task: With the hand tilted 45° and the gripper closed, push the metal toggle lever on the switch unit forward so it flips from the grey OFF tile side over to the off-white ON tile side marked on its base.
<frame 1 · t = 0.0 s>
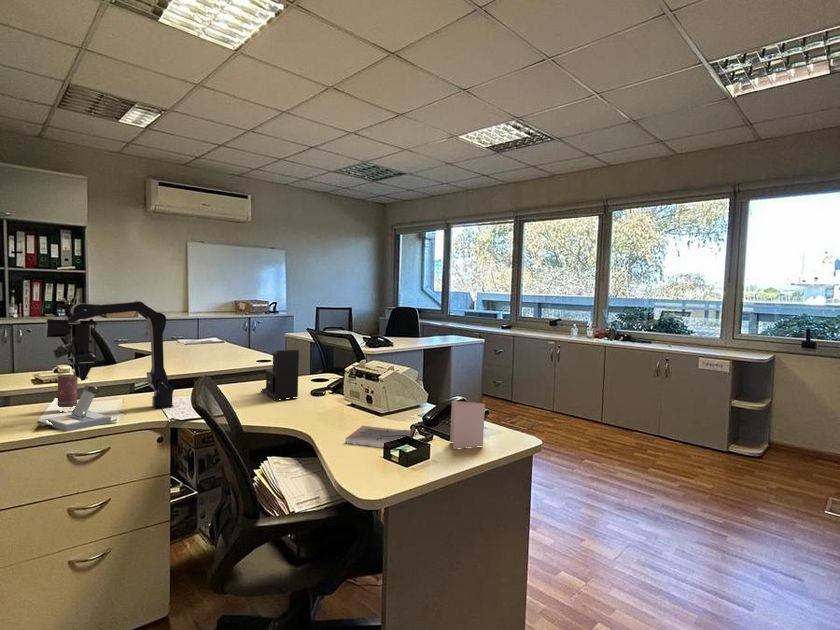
hand: (80, 378, 169), 15 cm above the table, tool pointing down, fingers open, 9 cm apart
pale purple book: (383, 441, 159), on the table
can: (67, 411, 179), on the table
bookend: (278, 395, 221), on the table
greeting card: (465, 448, 154), on the table
toggle lever: (85, 401, 164), point 8 cm above the table, hinge at -25.0°
switch base: (78, 423, 163), on the table
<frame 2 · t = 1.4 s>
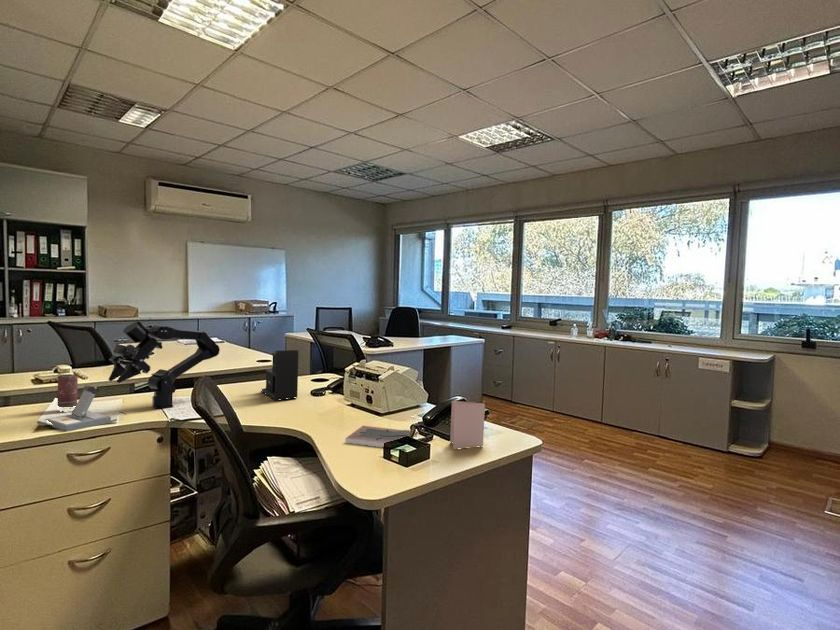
hand: (113, 381, 172), 14 cm above the table, tool tilted 45°, fingers open, 5 cm apart
nothing on the table moved.
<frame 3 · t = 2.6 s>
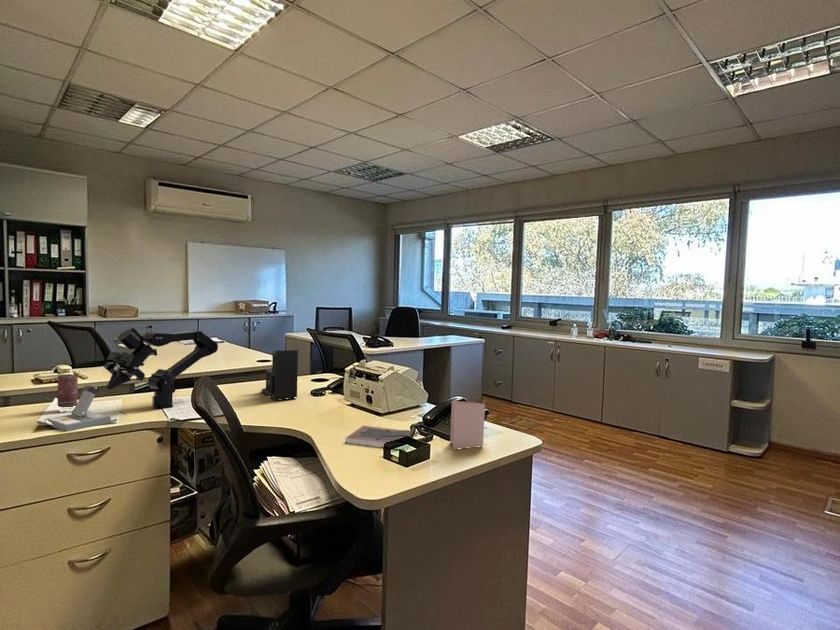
hand: (107, 389, 171), 11 cm above the table, tool tilted 45°, fingers closed
nothing on the table moved.
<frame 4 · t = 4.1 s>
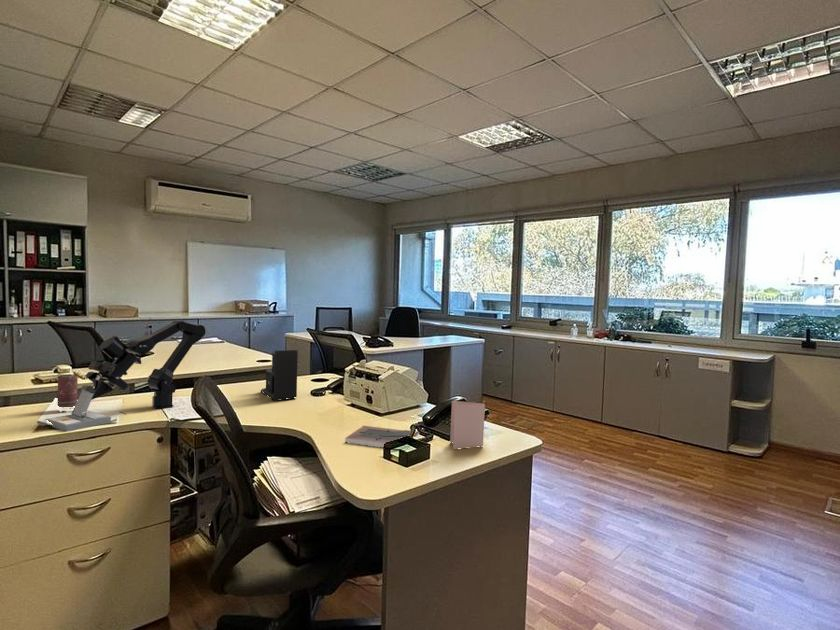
hand: (88, 399, 165), 8 cm above the table, tool tilted 45°, fingers closed, pressing on toggle lever
toggle lever: (84, 401, 164), point 8 cm above the table, hinge at -20.4°, touching gripper
everything else where it was.
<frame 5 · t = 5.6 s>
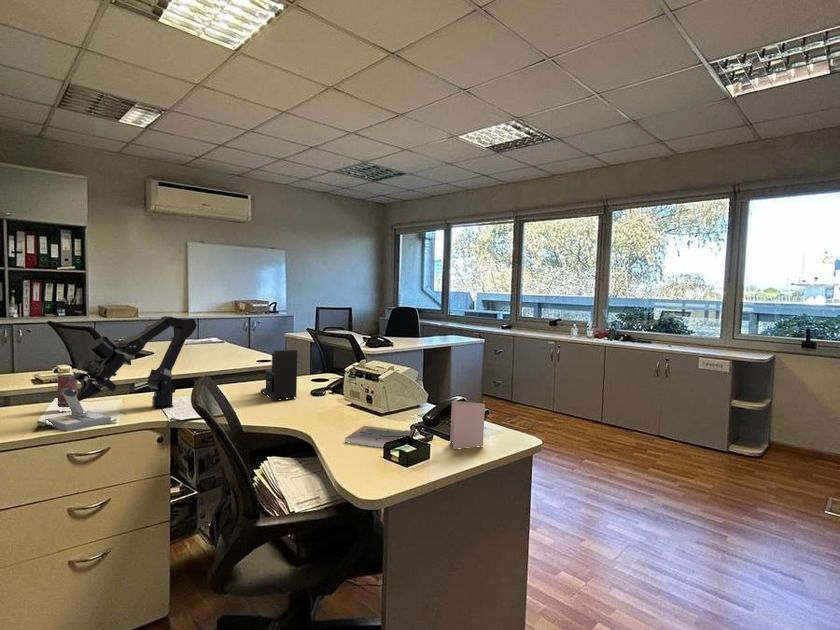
hand: (76, 401, 161), 8 cm above the table, tool tilted 45°, fingers closed, pressing on toggle lever
toggle lever: (73, 403, 161), point 8 cm above the table, hinge at 22.2°, touching gripper
everything else where it was.
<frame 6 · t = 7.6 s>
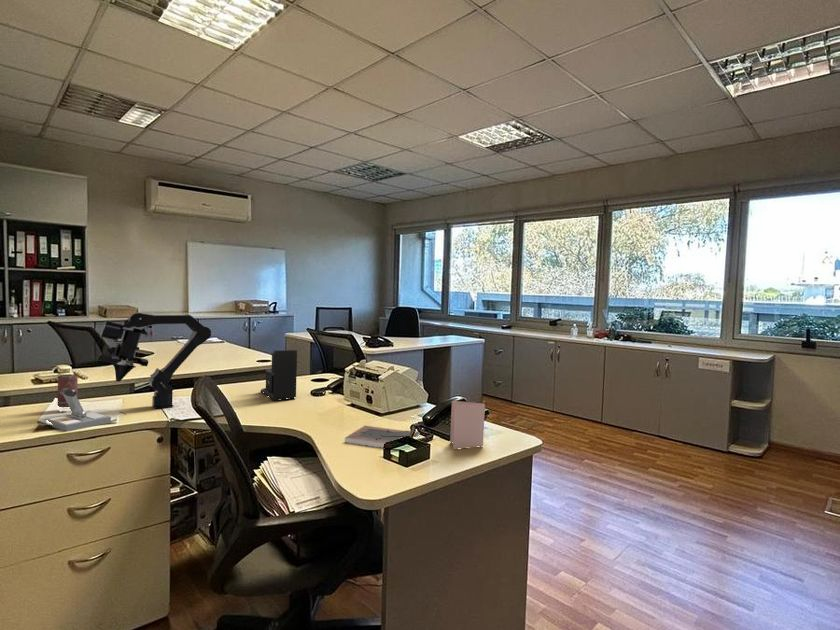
hand: (117, 381, 180), 12 cm above the table, tool pointing down, fingers closed
toggle lever: (73, 403, 161), point 8 cm above the table, hinge at 22.2°
everything else where it was.
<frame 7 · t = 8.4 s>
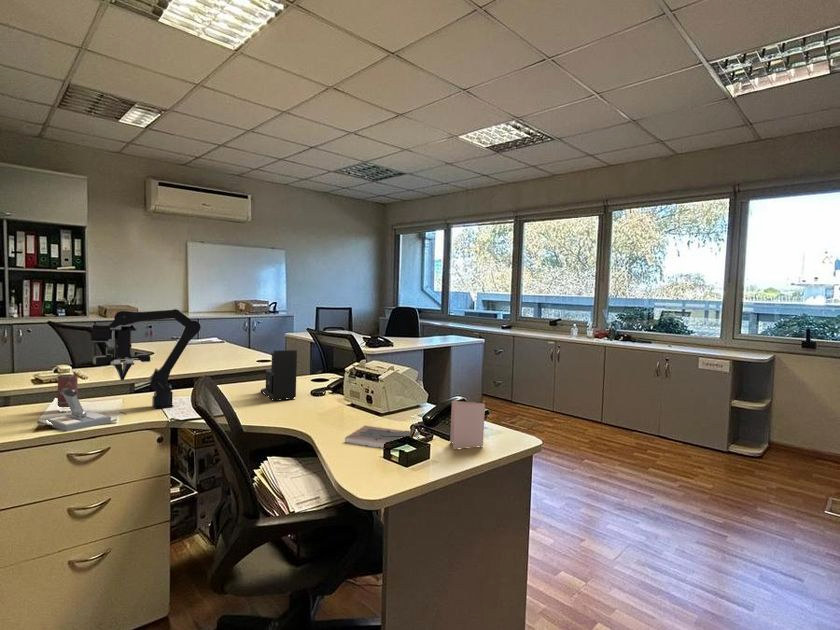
hand: (122, 380, 183), 12 cm above the table, tool pointing down, fingers closed
nothing on the table moved.
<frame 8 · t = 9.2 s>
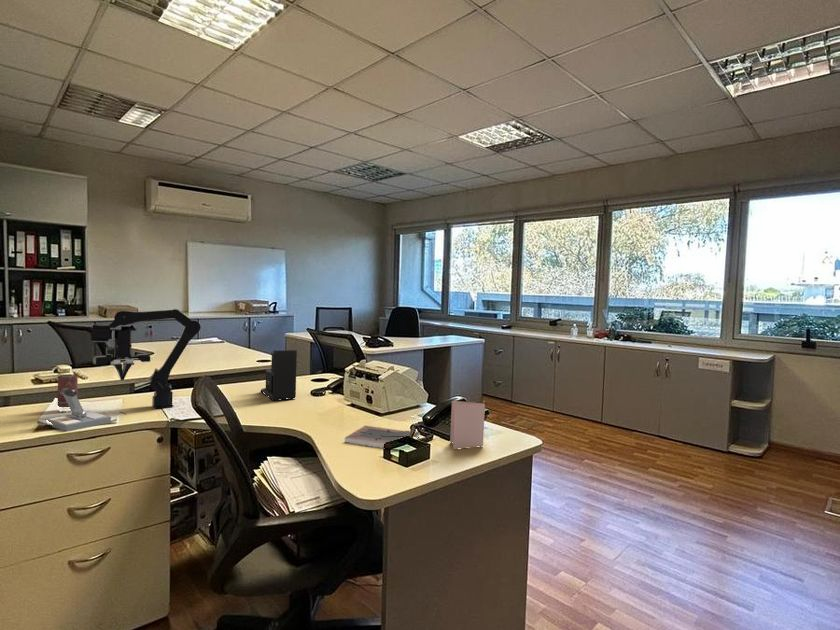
hand: (122, 380, 183), 12 cm above the table, tool pointing down, fingers closed
nothing on the table moved.
at the end: toggle lever at +22° (first picture: -25°); can moved 0.2 cm from its start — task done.
